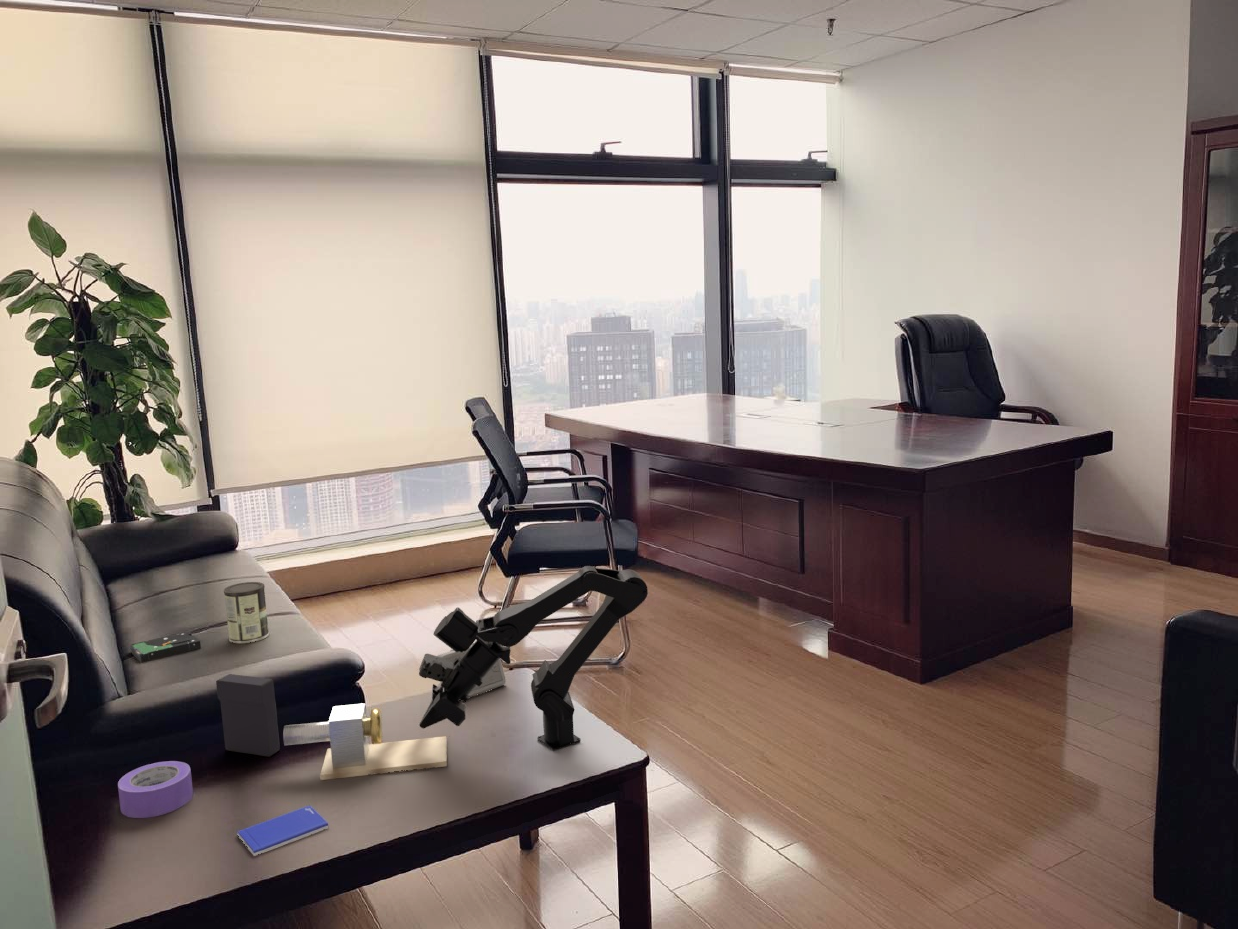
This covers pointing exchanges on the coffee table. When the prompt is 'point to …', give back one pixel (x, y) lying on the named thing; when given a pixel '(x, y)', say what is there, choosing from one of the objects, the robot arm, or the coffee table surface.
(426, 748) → the board
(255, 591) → the coffee can
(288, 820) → the hard drive
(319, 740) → the shaft
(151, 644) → the disk drive
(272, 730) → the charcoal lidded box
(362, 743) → the bearing block
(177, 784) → the tape roll
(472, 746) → the coffee table surface
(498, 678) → the digital clock
